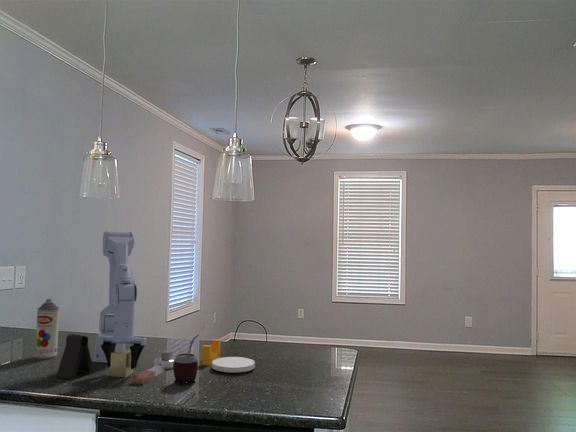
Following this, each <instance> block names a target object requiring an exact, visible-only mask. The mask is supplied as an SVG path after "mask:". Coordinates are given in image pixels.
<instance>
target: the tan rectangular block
mask: <svg viewBox="0 0 576 432" xmlns="http://www.w3.org/2000/svg"><path fill="white" fill-rule="evenodd" d="M109 369H110V371H109V376H110V377H113V378H114V377H115V378H127V377H129V376H131V375H132V373H133V374H134V369H131V351H130V349H125V350H120V349H119V350H117V351H114V352H112V353H111V365H110V367H109ZM130 374H131V375H130Z"/></svg>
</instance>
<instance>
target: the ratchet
mask: <svg viewBox="0 0 576 432" xmlns="http://www.w3.org/2000/svg"><path fill="white" fill-rule="evenodd" d="M175 358H176V356H173V350H163V351H162V352H161V357H157V358H154V361H153V366H152V367H151V368H148V369H146V370H142V371H140V372H139V373H136V374H135V375H133V376H131V378H130V385H136V384H144V385H146V384H147V383H149V382H150V381H152V380H153V379H152V378H154V377H155V376H156V377H157V376H159V375H161V374H162V373H163V371H164V370H165V369H168V370H172V369H171V368H173V364H174V359H175ZM165 371H166V370H165ZM165 371H164V372H165ZM161 372H162V373H161ZM158 374H159V375H158ZM156 377H155V378H156ZM155 378H154V379H155ZM151 379H152V380H151ZM149 380H150V381H149ZM148 381H149V382H148ZM146 382H147V383H146ZM145 383H146V384H145Z"/></svg>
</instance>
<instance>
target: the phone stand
mask: <svg viewBox="0 0 576 432" xmlns="http://www.w3.org/2000/svg"><path fill="white" fill-rule="evenodd" d="M88 344H89V337H88V336H87V335H81V334H72V333H71V334H68V335H67V336H66V337H65V348H64V350H63V353H62V357H61V360H60V364H59V366H58V369H57V372H56V375H55V377H56V378H59V379H63V380H64V379H65V380H69V381H73V380H76V379H80V378H82V377H85V376H90V375H92V374H94V373H95V369H94V366H93V360H92V357H91V353H90V350H89V345H88Z"/></svg>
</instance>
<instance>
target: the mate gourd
mask: <svg viewBox="0 0 576 432" xmlns="http://www.w3.org/2000/svg"><path fill="white" fill-rule="evenodd" d="M198 337H199V334H197V335H196V336H194V337H193V338H192V339H191V340H190V342H189V343H190V344H189V348H188V352H186V353H179V354H177V355H176V356H175V357H176V358H175V359H174V364H173V369H172V370H173V377H174V381H173V382H182V383H180V386H181V385H184V384H185V383H186V382H187V383H186V384H191V383H195V382H196V378H197V375H198V368H199V367H198V366H199V361H198V358H197V357H196V355H195V354H194V353H191V350H192V347H193V345H194V342H195V340H196V339H197V338H198ZM186 384H185V385H186ZM195 384H196V383H195ZM185 385H184V386H185Z"/></svg>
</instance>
